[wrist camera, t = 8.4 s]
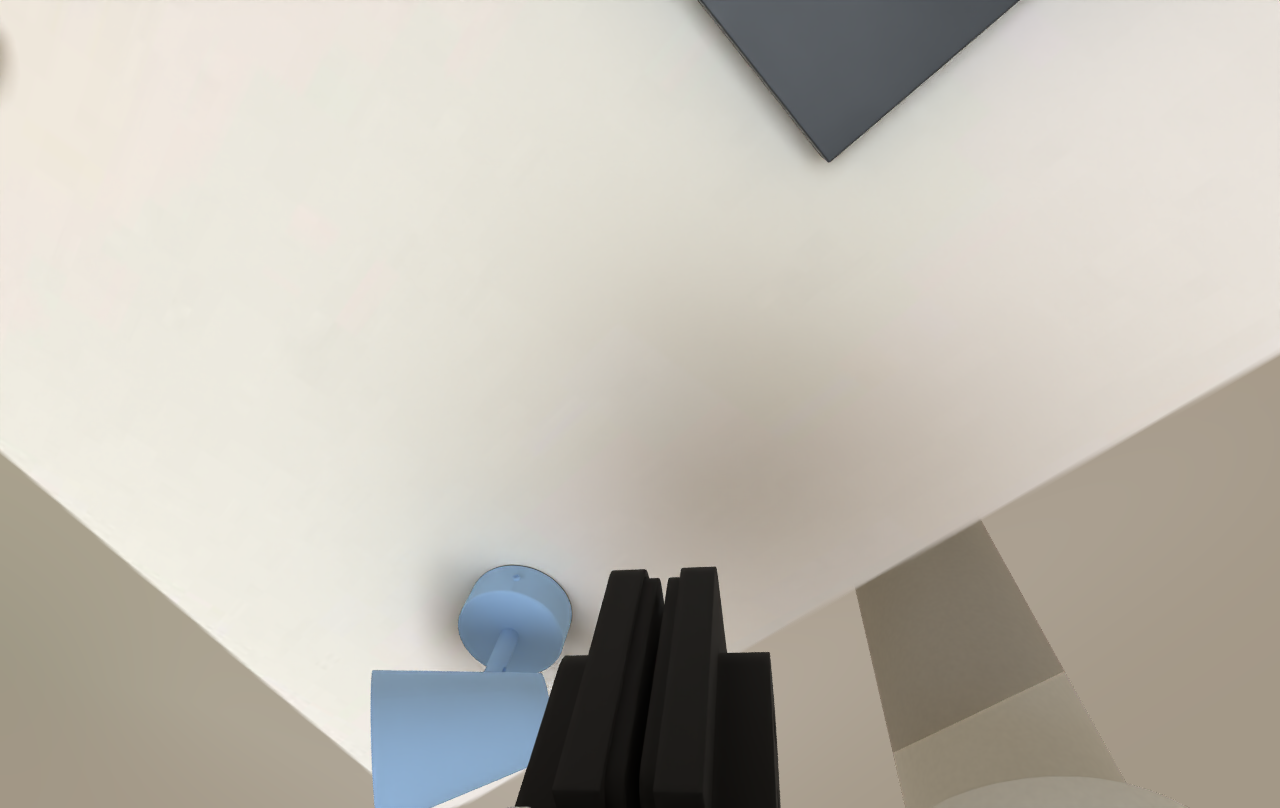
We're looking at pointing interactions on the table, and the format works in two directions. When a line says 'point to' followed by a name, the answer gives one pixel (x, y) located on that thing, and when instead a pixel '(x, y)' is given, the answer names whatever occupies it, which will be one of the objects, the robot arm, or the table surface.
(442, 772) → the spotlight
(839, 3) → the grey flat square block
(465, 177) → the table surface
